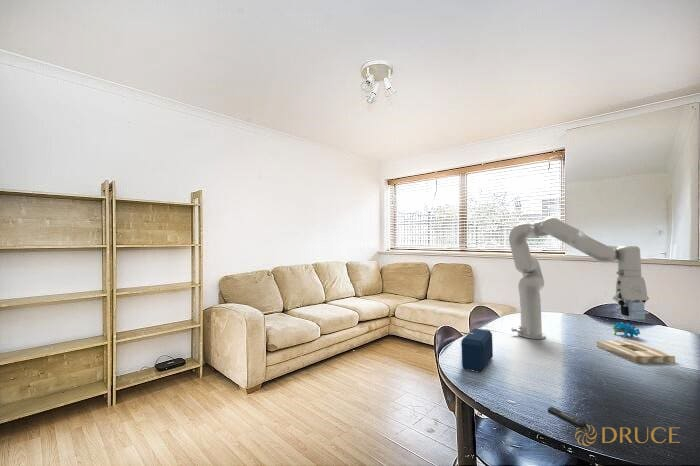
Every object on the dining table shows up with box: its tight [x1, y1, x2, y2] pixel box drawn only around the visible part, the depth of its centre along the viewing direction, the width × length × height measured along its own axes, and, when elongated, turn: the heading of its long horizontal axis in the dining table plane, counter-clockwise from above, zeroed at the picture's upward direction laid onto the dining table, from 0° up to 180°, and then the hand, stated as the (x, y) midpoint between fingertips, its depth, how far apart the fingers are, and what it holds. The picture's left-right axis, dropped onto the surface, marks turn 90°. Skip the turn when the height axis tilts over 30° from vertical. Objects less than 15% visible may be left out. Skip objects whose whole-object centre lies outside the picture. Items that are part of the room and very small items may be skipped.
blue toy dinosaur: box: [612, 321, 641, 339], centre depth 159 cm, size 11×6×10 cm
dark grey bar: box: [547, 406, 588, 429], centre depth 88 cm, size 10×3×2 cm, turn 25°
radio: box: [461, 327, 494, 373], centre depth 128 cm, size 21×9×20 cm, turn 145°
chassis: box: [596, 339, 676, 364], centre depth 135 cm, size 16×20×3 cm
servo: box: [614, 300, 650, 320], centre depth 136 cm, size 5×11×7 cm, turn 179°
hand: (631, 314), depth 136 cm, fingers closed on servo, 5 cm apart
